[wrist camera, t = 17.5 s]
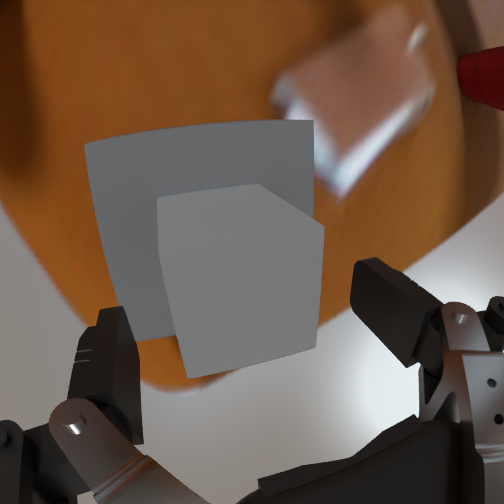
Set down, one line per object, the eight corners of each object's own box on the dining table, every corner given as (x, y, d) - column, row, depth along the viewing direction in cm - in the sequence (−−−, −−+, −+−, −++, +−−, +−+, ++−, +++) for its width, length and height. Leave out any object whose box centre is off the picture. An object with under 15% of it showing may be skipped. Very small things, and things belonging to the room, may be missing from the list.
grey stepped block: (255, 119, 21) (403, 127, 8) (261, 248, 25) (366, 374, 12) (113, 136, 18) (28, 161, 5) (135, 269, 23) (133, 434, 10)
